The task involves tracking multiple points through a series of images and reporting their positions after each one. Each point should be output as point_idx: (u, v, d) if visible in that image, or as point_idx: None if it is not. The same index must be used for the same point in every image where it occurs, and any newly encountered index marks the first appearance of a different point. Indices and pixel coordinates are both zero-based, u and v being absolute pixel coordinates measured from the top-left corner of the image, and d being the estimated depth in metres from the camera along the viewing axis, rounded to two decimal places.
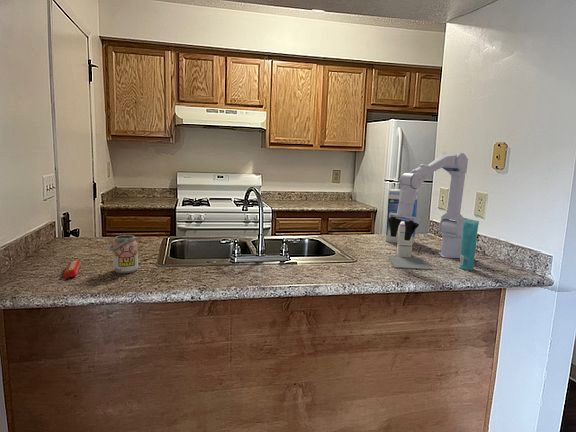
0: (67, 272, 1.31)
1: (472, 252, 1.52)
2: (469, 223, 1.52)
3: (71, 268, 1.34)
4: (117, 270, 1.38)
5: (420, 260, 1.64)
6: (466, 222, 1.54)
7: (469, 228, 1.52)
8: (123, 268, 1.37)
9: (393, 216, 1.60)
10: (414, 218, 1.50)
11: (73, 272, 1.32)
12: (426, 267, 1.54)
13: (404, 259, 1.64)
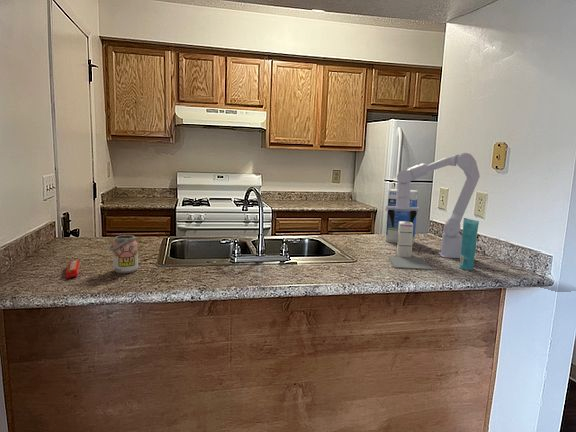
0: (69, 272, 1.32)
1: (472, 252, 1.52)
2: (469, 223, 1.52)
3: (72, 268, 1.34)
4: (117, 270, 1.38)
5: (420, 260, 1.64)
6: (466, 222, 1.54)
7: (469, 228, 1.52)
8: (123, 268, 1.37)
9: None
10: None
11: (75, 272, 1.32)
12: (426, 267, 1.54)
13: (404, 259, 1.64)
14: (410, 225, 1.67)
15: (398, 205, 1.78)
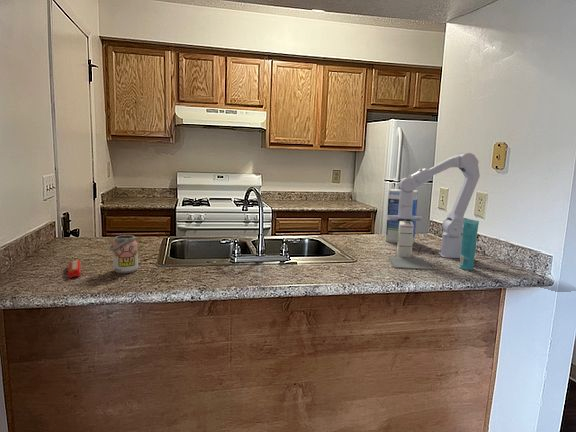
0: (71, 272, 1.32)
1: (472, 252, 1.52)
2: (469, 223, 1.52)
3: (74, 268, 1.34)
4: (117, 270, 1.38)
5: (420, 260, 1.64)
6: (466, 222, 1.54)
7: (469, 228, 1.52)
8: (123, 268, 1.37)
9: None
10: None
11: (77, 272, 1.32)
12: (426, 267, 1.54)
13: (404, 259, 1.64)
14: (410, 226, 1.66)
15: (400, 214, 1.72)
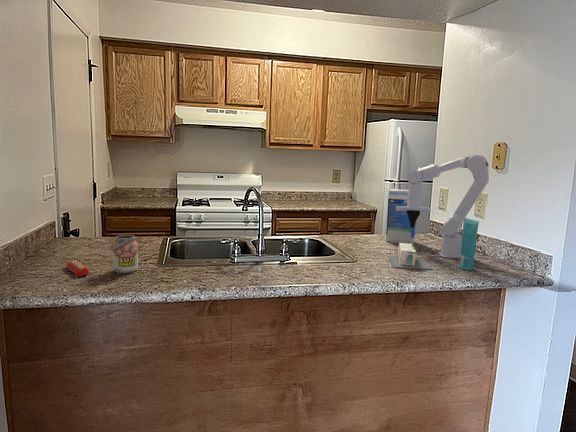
0: (80, 271, 1.33)
1: (472, 252, 1.52)
2: (469, 223, 1.52)
3: (82, 267, 1.35)
4: (117, 270, 1.38)
5: (420, 260, 1.64)
6: (466, 222, 1.54)
7: (469, 228, 1.52)
8: (123, 268, 1.37)
9: (425, 210, 1.81)
10: None
11: (86, 270, 1.34)
12: (426, 267, 1.54)
13: None
14: None
15: (409, 205, 1.79)
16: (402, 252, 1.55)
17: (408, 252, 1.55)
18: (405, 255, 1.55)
